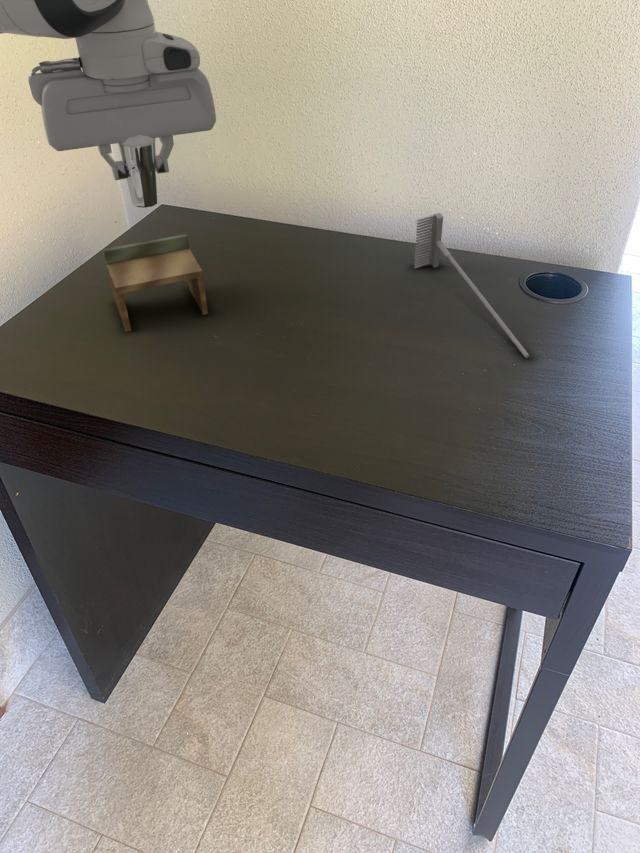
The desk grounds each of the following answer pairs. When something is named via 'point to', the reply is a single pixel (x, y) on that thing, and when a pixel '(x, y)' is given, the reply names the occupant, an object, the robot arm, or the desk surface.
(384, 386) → the desk surface
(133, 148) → the milkshake
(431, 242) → the brush
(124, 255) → the bench
